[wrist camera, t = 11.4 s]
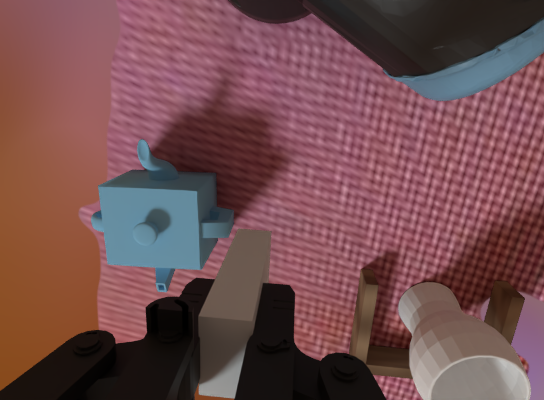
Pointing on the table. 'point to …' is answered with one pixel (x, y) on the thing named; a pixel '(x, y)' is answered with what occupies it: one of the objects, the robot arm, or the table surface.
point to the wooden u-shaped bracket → (396, 360)
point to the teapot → (161, 217)
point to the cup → (458, 350)
